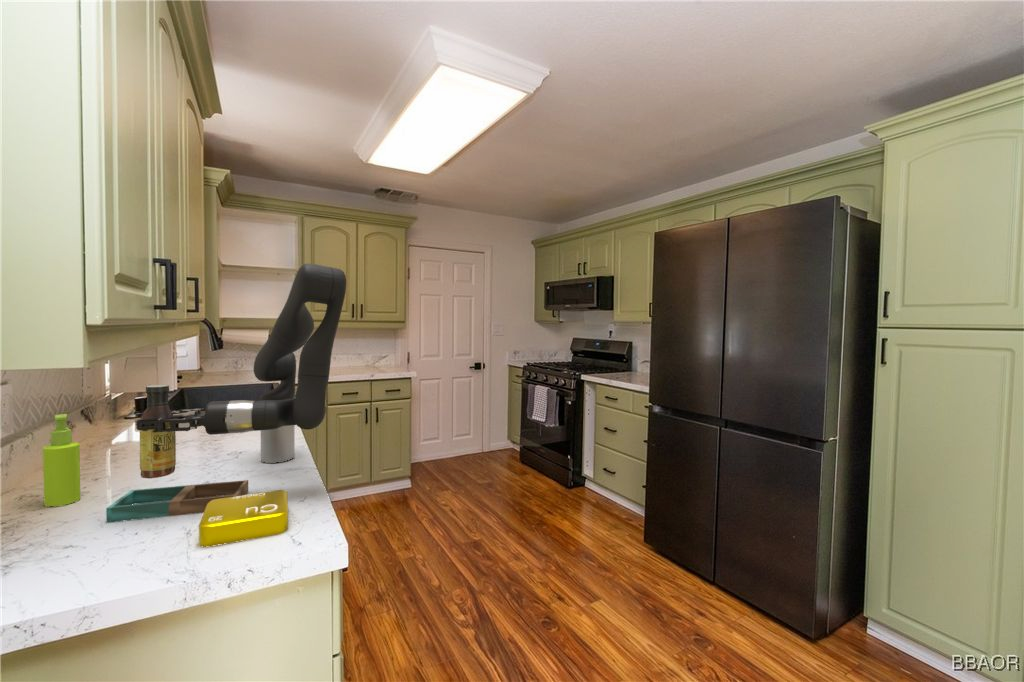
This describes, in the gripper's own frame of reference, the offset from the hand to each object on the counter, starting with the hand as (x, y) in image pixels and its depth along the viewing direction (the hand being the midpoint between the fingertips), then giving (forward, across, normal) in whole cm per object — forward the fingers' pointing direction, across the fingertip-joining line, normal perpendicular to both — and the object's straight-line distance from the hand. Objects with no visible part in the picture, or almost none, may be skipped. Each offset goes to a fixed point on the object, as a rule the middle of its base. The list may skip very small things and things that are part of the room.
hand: (144, 421), depth 98 cm
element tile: (-22, +15, +20) cm, 34 cm away
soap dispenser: (+20, -12, +20) cm, 30 cm away
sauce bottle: (-2, 0, +12) cm, 12 cm away
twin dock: (-7, 0, +20) cm, 21 cm away
